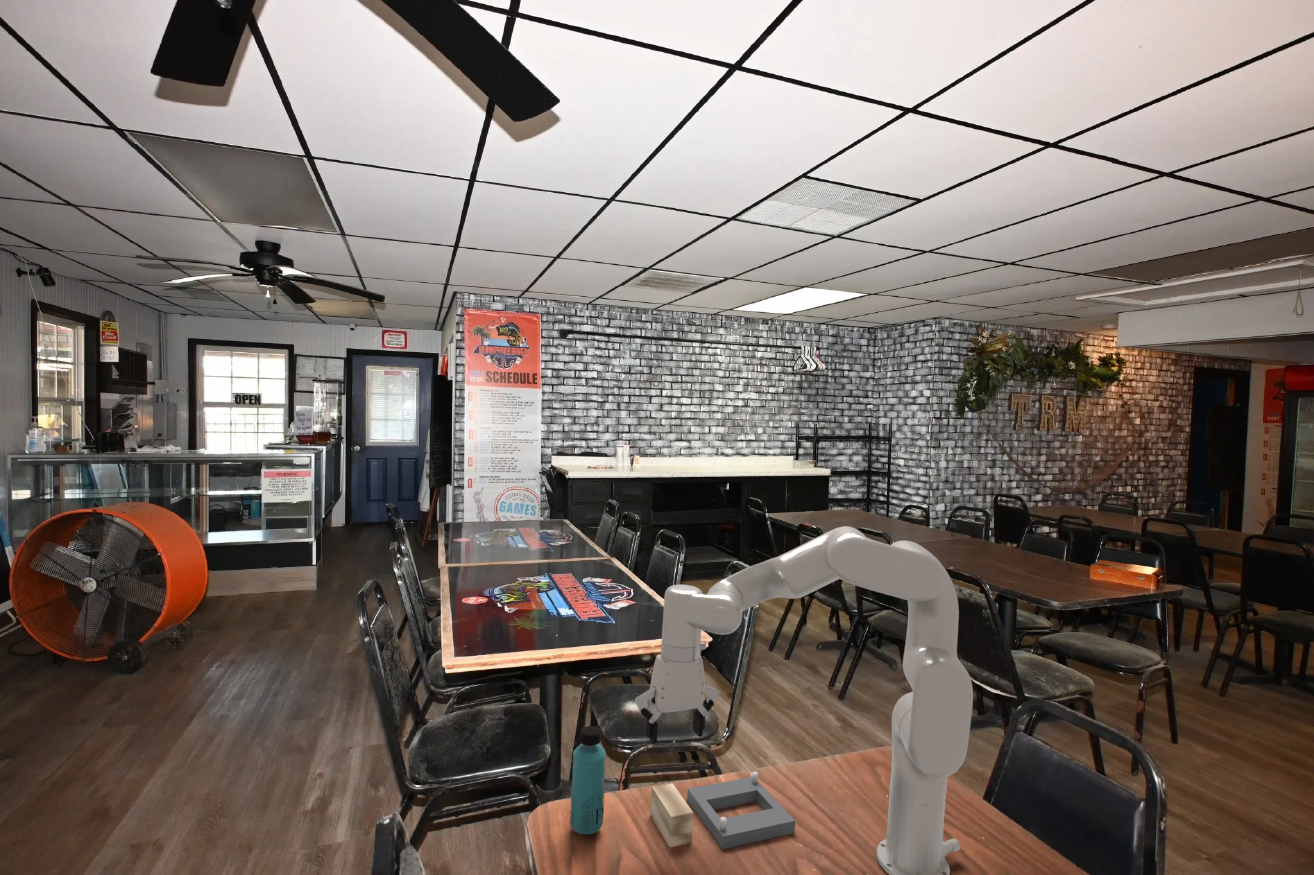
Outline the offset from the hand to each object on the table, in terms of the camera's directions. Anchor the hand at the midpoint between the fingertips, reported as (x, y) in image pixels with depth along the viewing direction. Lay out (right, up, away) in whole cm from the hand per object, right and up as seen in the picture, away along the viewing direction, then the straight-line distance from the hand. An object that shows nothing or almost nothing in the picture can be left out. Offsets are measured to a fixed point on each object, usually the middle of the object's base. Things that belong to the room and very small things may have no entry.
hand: (675, 736), depth 125 cm
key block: (-1, -18, +1) cm, 19 cm away
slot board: (+13, -19, +6) cm, 24 cm away
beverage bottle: (-17, -18, -2) cm, 25 cm away
